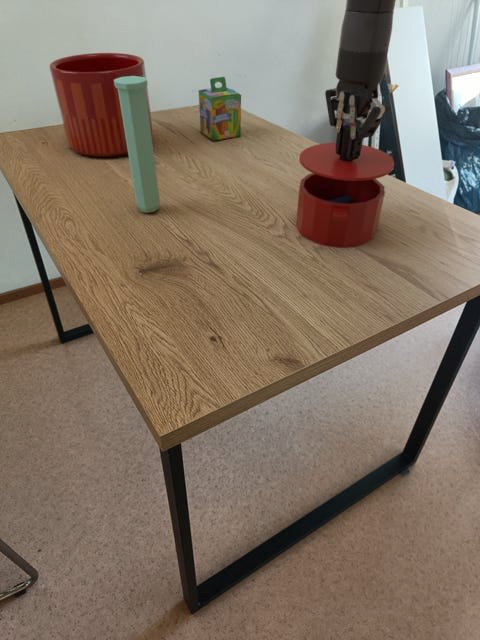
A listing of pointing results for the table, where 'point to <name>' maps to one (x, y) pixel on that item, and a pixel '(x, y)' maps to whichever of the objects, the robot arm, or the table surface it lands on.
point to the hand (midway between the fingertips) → (346, 156)
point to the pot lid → (346, 161)
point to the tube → (342, 200)
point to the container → (139, 140)
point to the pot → (338, 210)
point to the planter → (94, 100)
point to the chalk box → (220, 111)
